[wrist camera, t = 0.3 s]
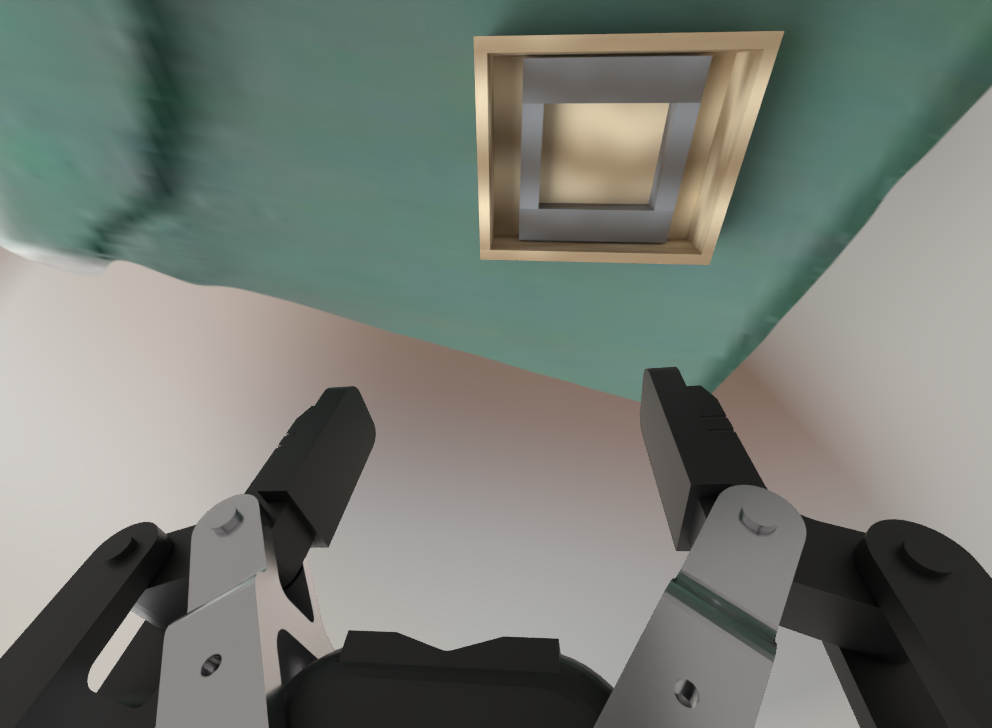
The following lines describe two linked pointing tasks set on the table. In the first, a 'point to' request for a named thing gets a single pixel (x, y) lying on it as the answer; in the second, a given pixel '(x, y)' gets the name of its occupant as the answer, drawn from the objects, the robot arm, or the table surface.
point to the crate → (613, 142)
